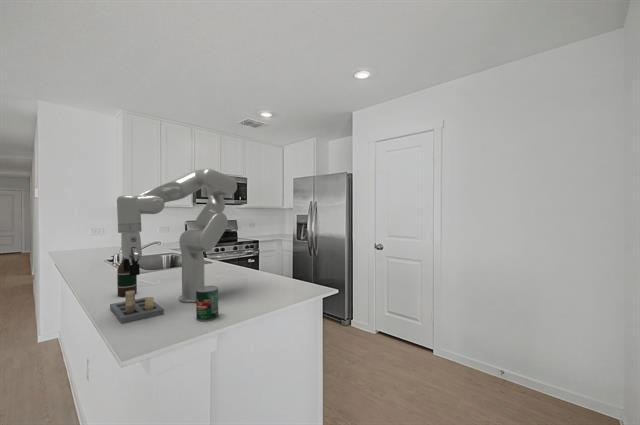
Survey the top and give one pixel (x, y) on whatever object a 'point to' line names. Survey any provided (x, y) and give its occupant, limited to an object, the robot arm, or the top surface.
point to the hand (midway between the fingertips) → (131, 273)
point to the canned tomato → (207, 303)
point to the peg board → (137, 310)
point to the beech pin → (130, 302)
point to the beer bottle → (125, 281)
